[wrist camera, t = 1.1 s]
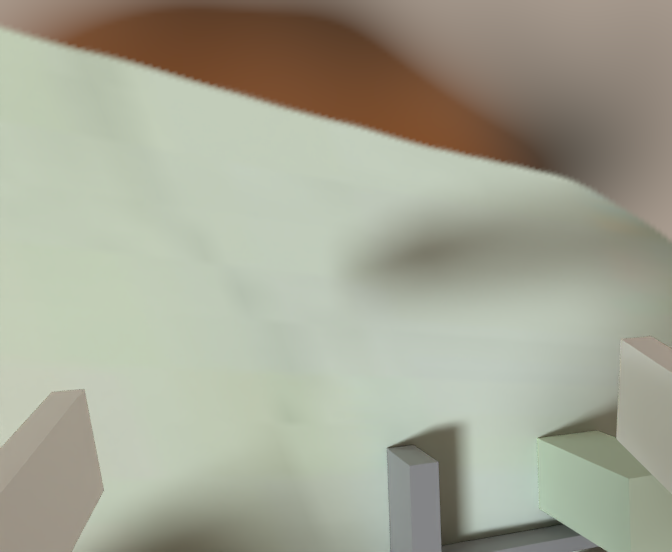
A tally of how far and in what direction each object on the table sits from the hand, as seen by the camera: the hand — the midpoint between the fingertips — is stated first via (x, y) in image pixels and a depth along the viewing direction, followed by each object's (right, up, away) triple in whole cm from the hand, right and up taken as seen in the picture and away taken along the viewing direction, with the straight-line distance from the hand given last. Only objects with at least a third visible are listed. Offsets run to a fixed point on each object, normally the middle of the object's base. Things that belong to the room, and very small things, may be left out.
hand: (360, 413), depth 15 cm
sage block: (+13, -8, +20) cm, 25 cm away
